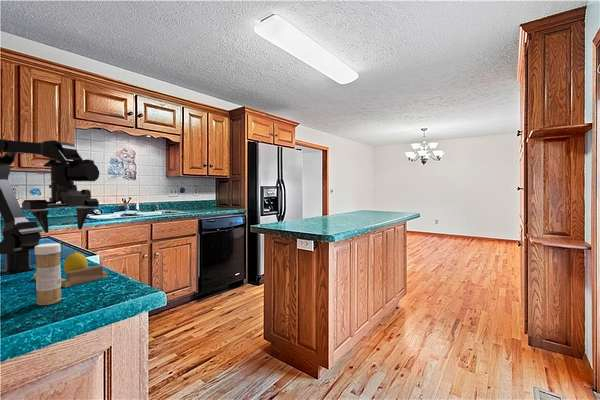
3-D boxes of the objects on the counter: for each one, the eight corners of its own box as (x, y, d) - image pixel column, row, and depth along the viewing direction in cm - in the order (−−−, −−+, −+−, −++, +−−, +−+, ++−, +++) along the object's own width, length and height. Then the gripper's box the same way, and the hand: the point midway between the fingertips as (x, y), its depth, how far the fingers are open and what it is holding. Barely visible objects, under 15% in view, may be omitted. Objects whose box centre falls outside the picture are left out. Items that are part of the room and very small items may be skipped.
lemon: (68, 277, 89) (67, 251, 89) (90, 275, 91) (89, 249, 91) (61, 283, 84) (60, 254, 84) (84, 280, 86) (83, 252, 86)
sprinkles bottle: (46, 299, 72) (44, 242, 71) (66, 298, 72) (65, 242, 72) (30, 306, 67) (29, 246, 67) (52, 305, 67) (51, 246, 67)
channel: (33, 279, 88) (33, 267, 88) (75, 270, 98) (75, 259, 98) (65, 287, 80) (65, 274, 80) (107, 276, 90) (107, 265, 90)
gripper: (39, 180, 83) (41, 236, 84) (108, 181, 100) (109, 229, 100) (20, 181, 88) (21, 234, 88) (88, 182, 105) (89, 227, 105)
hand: (64, 231), depth 95 cm, fingers open, 9 cm apart
